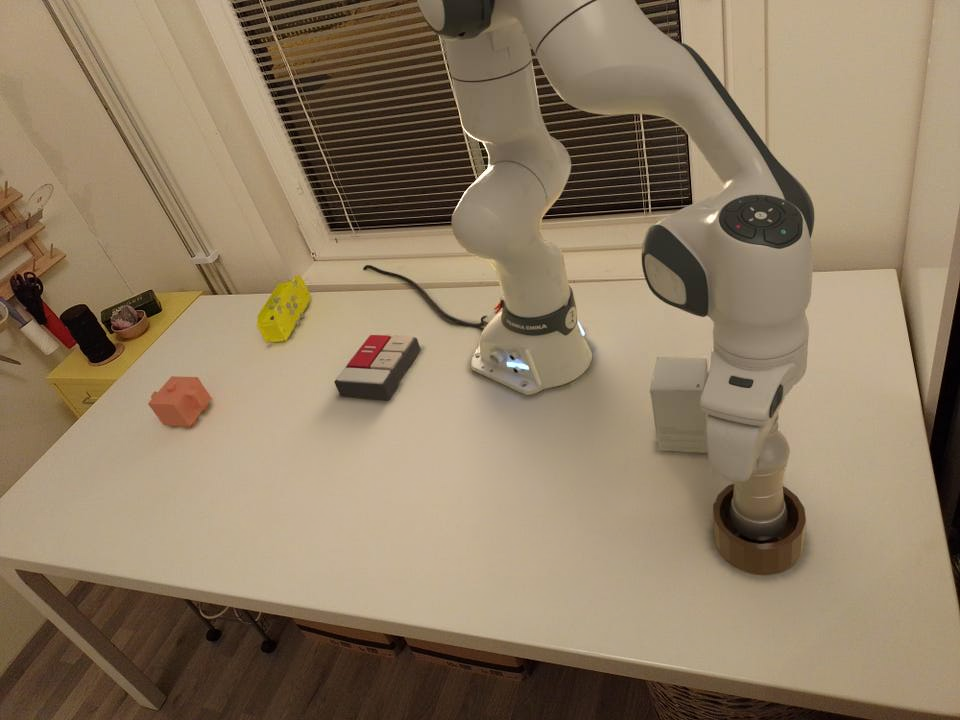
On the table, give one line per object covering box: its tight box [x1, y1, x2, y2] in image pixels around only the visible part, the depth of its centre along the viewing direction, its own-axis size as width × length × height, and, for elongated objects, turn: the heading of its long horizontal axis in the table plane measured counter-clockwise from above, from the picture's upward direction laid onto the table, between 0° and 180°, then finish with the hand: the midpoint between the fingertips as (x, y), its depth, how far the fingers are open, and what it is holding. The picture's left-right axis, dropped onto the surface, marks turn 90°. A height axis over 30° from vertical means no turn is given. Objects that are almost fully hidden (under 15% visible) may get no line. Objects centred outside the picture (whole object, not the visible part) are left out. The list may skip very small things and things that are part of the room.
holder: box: [712, 483, 807, 576], centre depth 89 cm, size 11×11×6 cm
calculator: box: [334, 334, 422, 401], centre depth 136 cm, size 11×4×15 cm
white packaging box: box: [649, 356, 709, 454], centre depth 103 cm, size 7×7×13 cm
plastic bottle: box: [730, 416, 791, 541], centre depth 83 cm, size 6×7×20 cm
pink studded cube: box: [147, 375, 213, 428], centre depth 139 cm, size 8×12×8 cm, turn 72°
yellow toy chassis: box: [256, 275, 312, 344], centre depth 157 cm, size 16×6×8 cm, turn 169°
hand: (758, 445), depth 80 cm, fingers closed on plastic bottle, 6 cm apart
